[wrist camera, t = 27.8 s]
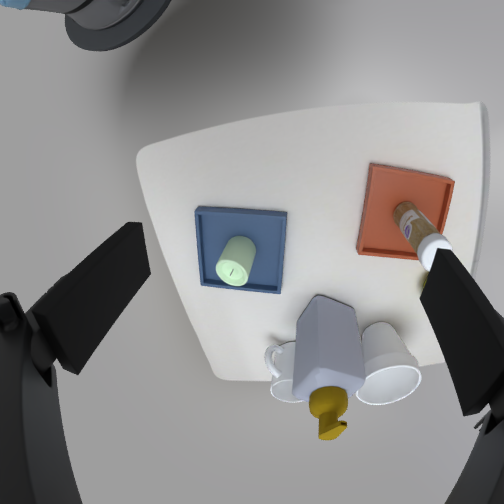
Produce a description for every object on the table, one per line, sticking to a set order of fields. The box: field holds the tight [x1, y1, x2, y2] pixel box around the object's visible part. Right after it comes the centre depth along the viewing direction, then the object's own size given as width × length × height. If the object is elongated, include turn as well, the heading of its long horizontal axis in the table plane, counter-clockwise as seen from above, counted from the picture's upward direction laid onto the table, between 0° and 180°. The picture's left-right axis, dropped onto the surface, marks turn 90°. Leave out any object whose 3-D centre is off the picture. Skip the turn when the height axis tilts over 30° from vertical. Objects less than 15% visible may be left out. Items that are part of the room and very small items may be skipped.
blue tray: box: [195, 206, 287, 294], centre depth 48 cm, size 14×14×2 cm
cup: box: [355, 322, 421, 405], centre depth 47 cm, size 12×12×14 cm
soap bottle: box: [292, 295, 366, 440], centre depth 42 cm, size 9×9×25 cm
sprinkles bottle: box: [393, 202, 453, 272], centre depth 35 cm, size 5×5×13 cm
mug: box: [265, 342, 303, 402], centre depth 54 cm, size 12×8×10 cm
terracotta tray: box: [356, 163, 455, 260], centre depth 40 cm, size 14×14×2 cm
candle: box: [216, 236, 256, 286], centre depth 44 cm, size 5×5×8 cm
